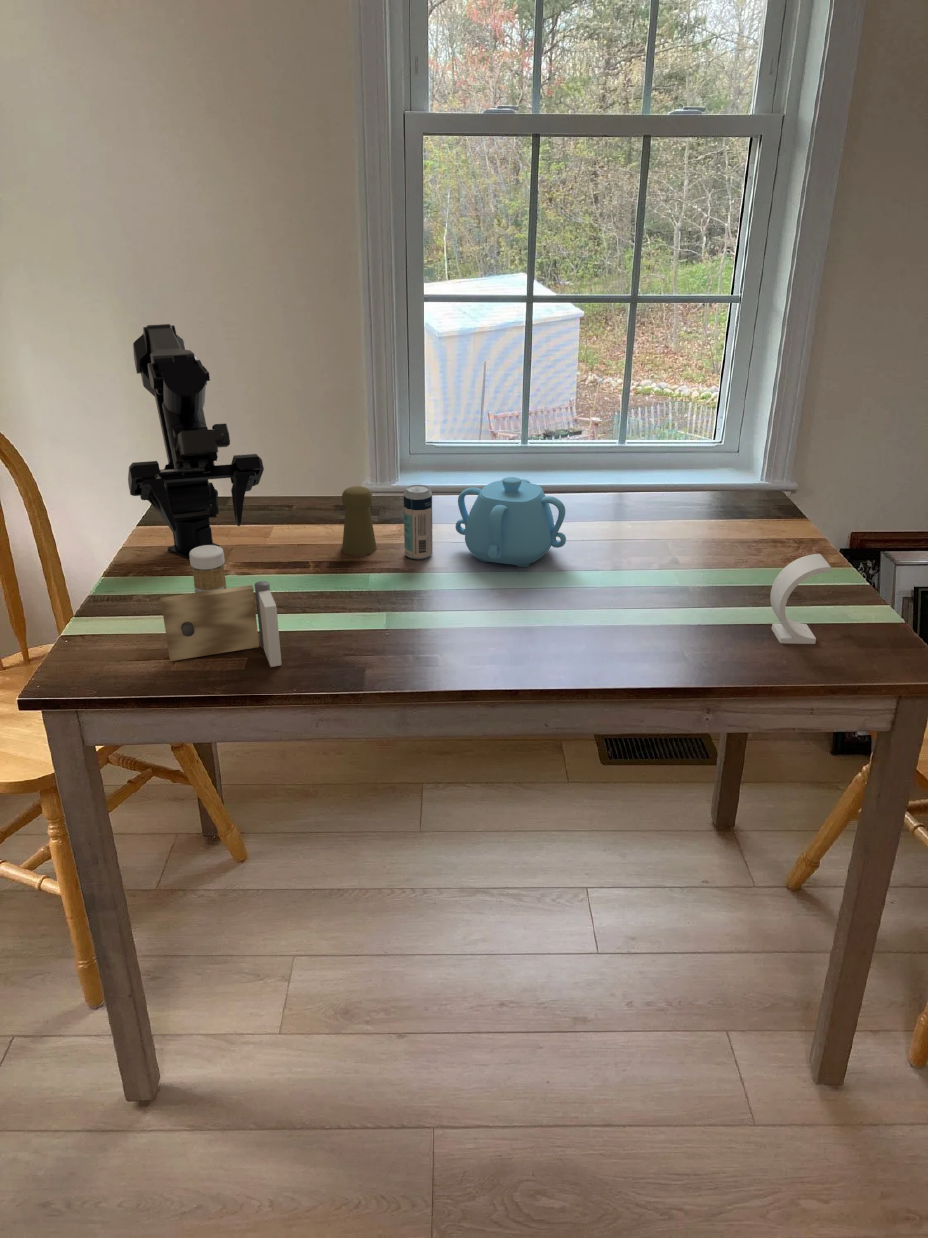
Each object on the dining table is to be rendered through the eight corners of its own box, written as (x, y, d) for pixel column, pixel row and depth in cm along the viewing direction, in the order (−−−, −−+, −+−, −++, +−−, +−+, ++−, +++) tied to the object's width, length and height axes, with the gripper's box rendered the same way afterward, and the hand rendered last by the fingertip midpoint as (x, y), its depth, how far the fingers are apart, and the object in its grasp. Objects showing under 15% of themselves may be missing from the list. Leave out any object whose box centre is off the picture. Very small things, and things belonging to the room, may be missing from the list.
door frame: (259, 643, 133) (253, 582, 129) (273, 641, 134) (268, 580, 129) (268, 667, 127) (262, 604, 123) (283, 664, 128) (277, 601, 123)
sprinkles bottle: (236, 629, 137) (226, 544, 131) (228, 645, 133) (218, 557, 126) (204, 629, 137) (194, 543, 131) (196, 644, 133) (184, 556, 127)
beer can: (437, 552, 163) (437, 486, 157) (424, 562, 159) (424, 495, 153) (412, 548, 164) (411, 482, 159) (399, 557, 161) (398, 490, 155)
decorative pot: (572, 567, 158) (577, 490, 152) (482, 579, 153) (484, 499, 147) (534, 532, 172) (537, 460, 166) (450, 542, 167) (451, 468, 161)
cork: (374, 555, 161) (372, 494, 156) (339, 555, 161) (336, 494, 156) (378, 542, 167) (376, 482, 162) (344, 541, 167) (341, 482, 162)
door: (257, 643, 133) (251, 585, 128) (260, 650, 131) (254, 592, 126) (169, 657, 129) (160, 597, 125) (171, 665, 127) (161, 605, 123)
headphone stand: (815, 643, 135) (831, 567, 129) (772, 643, 135) (786, 566, 129) (805, 628, 139) (820, 553, 133) (764, 628, 139) (777, 553, 133)
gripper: (123, 406, 129) (142, 511, 125) (258, 400, 136) (280, 498, 133) (120, 445, 138) (138, 543, 135) (247, 437, 146) (267, 529, 142)
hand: (207, 528), depth 136 cm, fingers open, 9 cm apart
